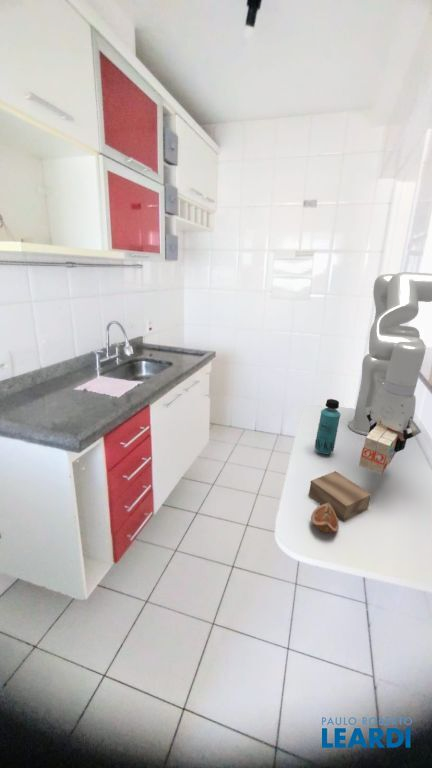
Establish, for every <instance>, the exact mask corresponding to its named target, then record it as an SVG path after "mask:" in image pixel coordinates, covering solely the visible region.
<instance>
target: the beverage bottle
mask: <svg viewBox="0 0 432 768" xmlns="http://www.w3.org/2000/svg"><path fill="white" fill-rule="evenodd" d="M339 406H340V401H339V400H337V399H333V398H328V399H327V400H326V403H325V408H323V409H321V410H320V415H319V417H320V418H319V423H318V426H317V430H316V437H315V441H314V449H315V451H316V452H318V453H320V454H324V455H328V454H329V455H330V454H332V453H333V452H334V450H335V447H336V446H335V445H336V440H337V435H338V428H339V425H340V424H339V423H340V419H341V418H340V417H341V413H340V411H339V410H338V409H339V408H340V407H339Z"/></svg>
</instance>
